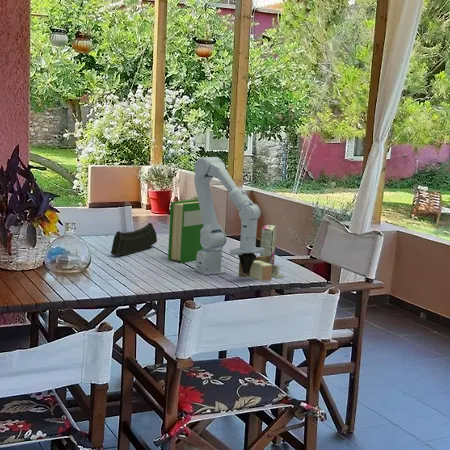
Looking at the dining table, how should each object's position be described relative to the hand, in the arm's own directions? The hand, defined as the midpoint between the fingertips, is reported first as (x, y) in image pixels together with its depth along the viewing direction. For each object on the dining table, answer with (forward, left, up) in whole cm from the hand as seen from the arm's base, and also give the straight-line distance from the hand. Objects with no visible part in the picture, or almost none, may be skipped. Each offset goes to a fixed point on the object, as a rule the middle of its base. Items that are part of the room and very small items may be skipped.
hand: (245, 273), depth 254 cm
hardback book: (-1, +38, -3) cm, 38 cm away
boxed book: (+7, 0, -2) cm, 7 cm away
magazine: (-16, +58, -3) cm, 60 cm away
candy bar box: (+22, +15, -3) cm, 26 cm away
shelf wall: (+8, +5, -2) cm, 9 cm away
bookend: (+15, +1, -2) cm, 15 cm away
